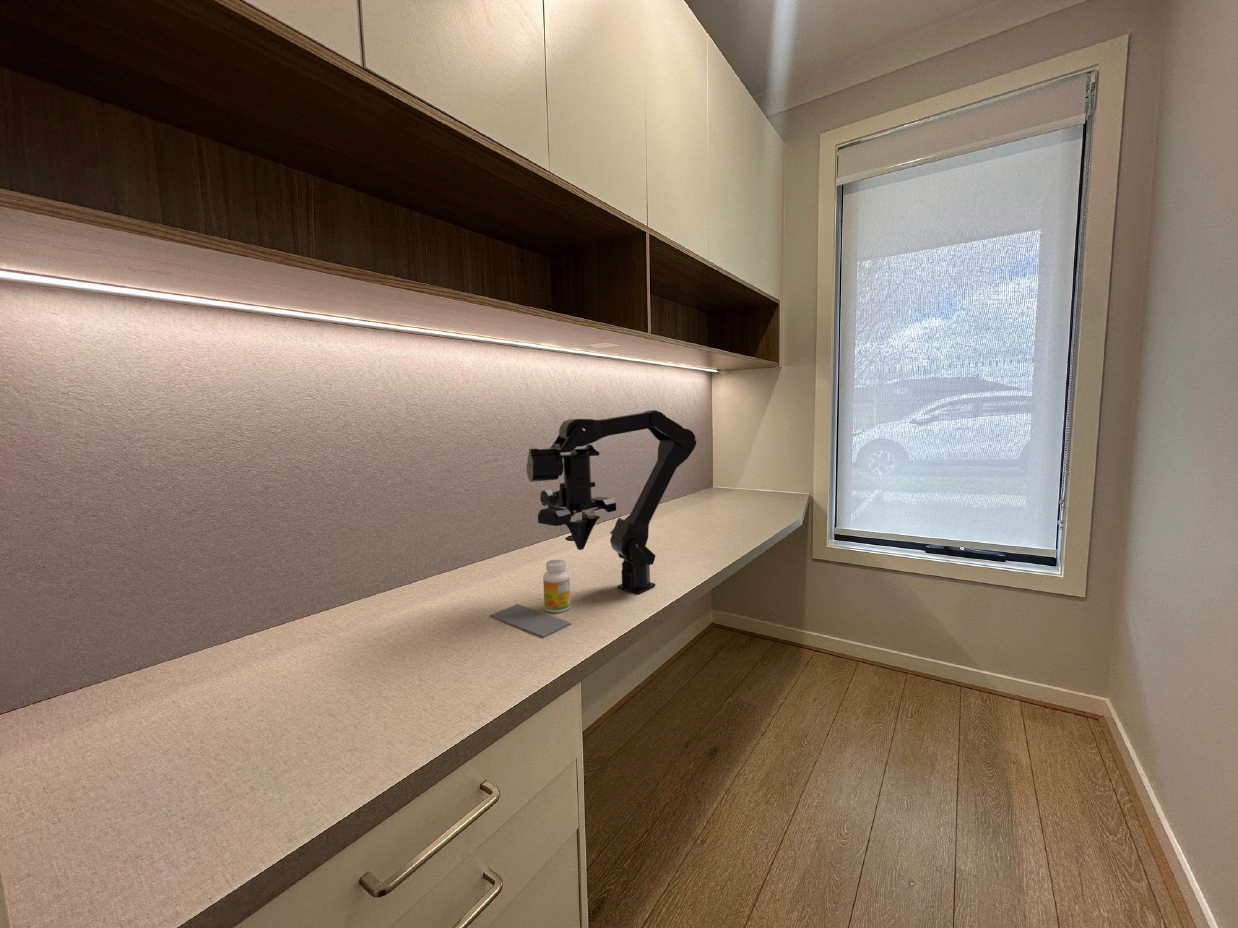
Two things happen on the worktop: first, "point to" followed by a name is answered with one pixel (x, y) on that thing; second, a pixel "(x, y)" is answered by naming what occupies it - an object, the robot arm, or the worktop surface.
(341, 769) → the worktop surface
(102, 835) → the worktop surface
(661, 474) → the robot arm
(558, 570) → the supplement bottle
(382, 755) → the worktop surface
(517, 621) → the mat
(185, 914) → the worktop surface
